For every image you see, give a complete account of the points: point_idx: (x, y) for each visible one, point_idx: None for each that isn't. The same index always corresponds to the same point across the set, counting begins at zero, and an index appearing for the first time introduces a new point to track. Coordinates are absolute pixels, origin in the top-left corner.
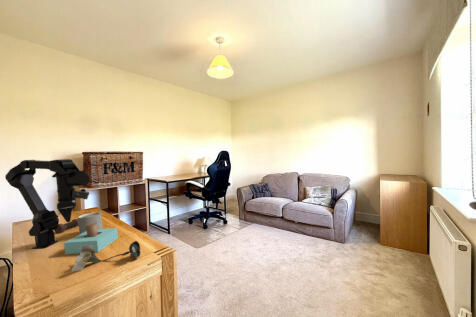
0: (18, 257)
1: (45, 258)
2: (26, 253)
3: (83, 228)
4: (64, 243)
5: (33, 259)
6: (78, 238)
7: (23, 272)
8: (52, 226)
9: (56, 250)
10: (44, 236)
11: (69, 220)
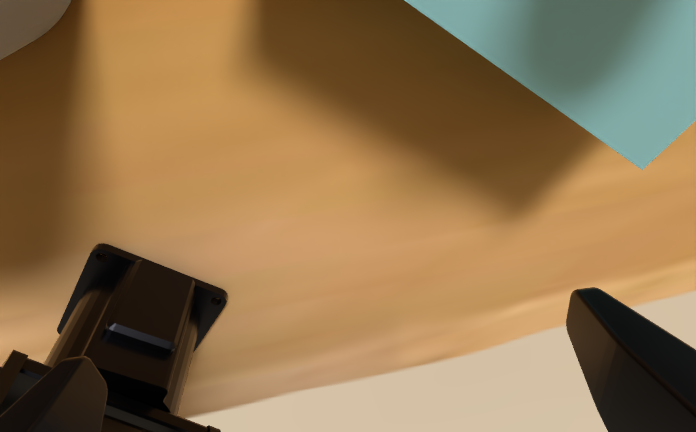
0: (321, 381)
1: (514, 235)
2: (268, 365)
3: (9, 14)
4: (639, 160)
5: (454, 299)
6: (653, 16)
7: (663, 290)
8: (113, 423)
9: (375, 200)
10: (174, 380)
11: (624, 316)
